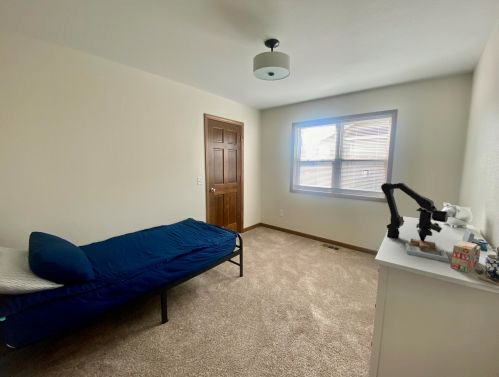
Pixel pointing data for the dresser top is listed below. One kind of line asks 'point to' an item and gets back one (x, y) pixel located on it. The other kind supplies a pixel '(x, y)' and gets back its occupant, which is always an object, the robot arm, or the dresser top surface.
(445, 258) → the dock
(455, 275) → the dresser top surface
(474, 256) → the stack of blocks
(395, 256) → the dresser top surface
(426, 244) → the t block
